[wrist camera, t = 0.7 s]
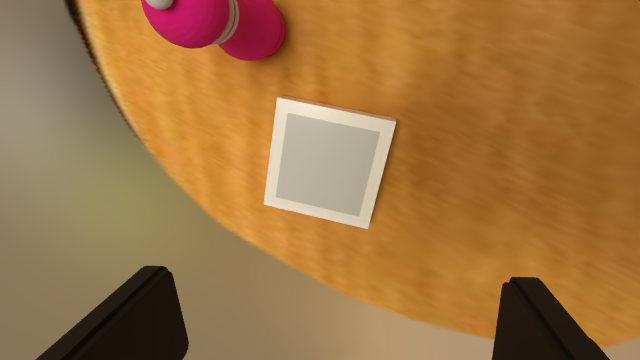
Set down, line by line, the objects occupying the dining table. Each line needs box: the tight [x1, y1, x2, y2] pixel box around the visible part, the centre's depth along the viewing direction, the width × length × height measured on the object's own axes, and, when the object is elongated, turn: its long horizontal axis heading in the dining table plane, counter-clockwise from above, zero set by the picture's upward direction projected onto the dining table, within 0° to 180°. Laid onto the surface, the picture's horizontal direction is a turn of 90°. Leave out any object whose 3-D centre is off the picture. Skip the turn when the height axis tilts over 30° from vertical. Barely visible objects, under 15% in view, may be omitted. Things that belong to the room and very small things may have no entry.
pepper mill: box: [141, 0, 285, 61], centre depth 28 cm, size 7×7×20 cm
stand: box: [264, 96, 396, 229], centre depth 40 cm, size 14×14×3 cm
